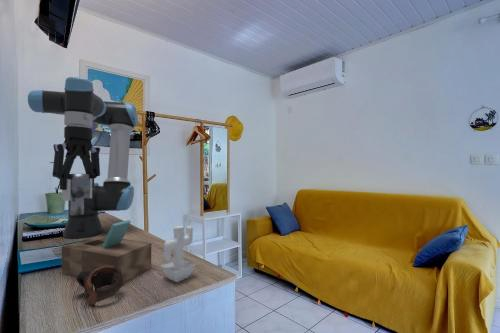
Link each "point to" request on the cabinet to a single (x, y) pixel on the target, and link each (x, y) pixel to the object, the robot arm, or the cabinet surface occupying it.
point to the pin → (78, 192)
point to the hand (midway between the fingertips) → (77, 199)
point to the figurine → (178, 255)
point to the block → (106, 257)
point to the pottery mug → (100, 283)
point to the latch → (116, 233)
